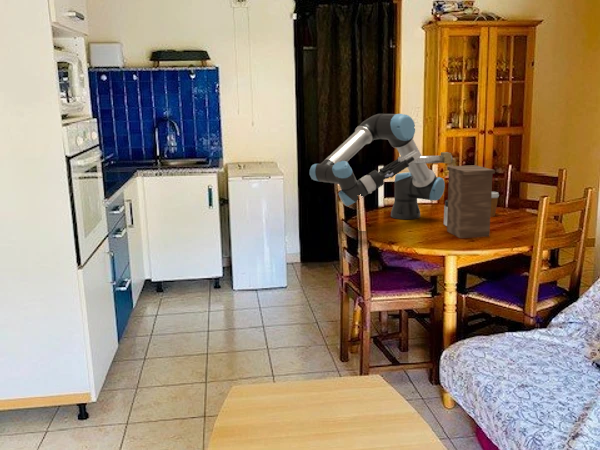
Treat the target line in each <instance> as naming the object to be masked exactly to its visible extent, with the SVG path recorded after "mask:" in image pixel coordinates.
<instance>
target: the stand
mask: <svg viewBox="0 0 600 450" xmlns="http://www.w3.org/2000/svg"><path fill="white" fill-rule="evenodd" d="M446 170H447V171H448V189H447V194H448V195H447V200H448V215H447V226H446V231H447V232H448V233H449V234H450V235H453V236H455V237H457V238H458V239H468V238H469V239H470V238H483V237H490V232H491V231H490V230H491V217H490V215H491V195H492V190H493V176H494V175H493V174H496V170H495V169H492V168H487V167H485V166H479V165H477V164H474V165H472V164H471V165H456V166H452V165H451V166H447V167H446Z"/></svg>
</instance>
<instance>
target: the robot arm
mask: <svg viewBox="0 0 600 450" xmlns="http://www.w3.org/2000/svg"><path fill="white" fill-rule="evenodd" d="M415 126H416V125H415V121H414V119H413V118H412V117H411V116H410V115H408V114H404V113H377V114H374V115H372V116H370V117H368V118H367V119H365V120H364V121H362V122H361V123H360V124H359V125H357V127H356V128H355V129H354V132H353V133H352V134H351V135H349V137H348V138H347V139H346V140H344V141H343V143H341V144H340V145H339V146H338V147H337V148H336V149H335V150H334V151H333V152H332V153H331V154H330V155H328V156H327V157H326V158H325V159H324V160H323V161H322V162H320V163H314V164H312V165H311V166H310V169H309V176H310V178H311V180H313V181H316V182H323V183H330V184H338V185H339V187H340V190H339V191H338V196H339V199H340V200H341V202H342V203H343V204H344V205H345V207H349V206H351V205H353V204H354V203H357V202H358V201H359V200H358V196H357V195H360V194H361V196H363V197H362V198H364V197H366V196H368V195H369V194H372V193H373V192H374V191H376V189H379V188H380V187H382V186H384V185H385V180H386V179H389V178H390V179H391V178H394V183H393V184H394V203H393V205H392V208H391V210H390V217H391V218H393V219H398V220H415V219H419V218H420V217H421V211H420V207H419V203H418V200H420V199H421V200H425V201H434V202H435V201H439V200H440V199H441V198H442V197H443V194H444V192H445V187H446V186H445V185H446V184H445V179H444V178H443V177H440V176H437V175H436V173H435V172H434V171H433V170H432V169H429V167H428V165H427V163H418V164H410V163H412V162H413V161H415V160H417V159H418V158H420V157H421V156H423V155H422V153H421V152H420V149H419V148H418V146H417V144H416V142H415V141H414V136H415V133H416V128H415ZM374 140H375V141H376V140H388V142H389V144H390V146H391V147H393V148H394V149H396V150H397V152H398V154H399V156H400V157H403V156H409V157H407V158H406V159H405V160H404V161H402V162H400V163H398V158H397V159H395V160H393V161H392V162H390V163H389V164H387V165H385V166H383V167H381V168H380V169H379V168H378V169H379V170H376V169H374V170H372V171H371V172H369V173H368V174H366V175H363V176H362V177H361V178H359V179H358V180H357V178H356V176H355V174H354V171H353V169H352V167H351V166H350V164H349V161H350V159H352V158H353V157H354V156H356V154H357V153H358V152H359V151H360V150H362V149H363V148H364V146H366V145H369V144H371V143H372V142H374ZM405 169H408V171H407V172H402V171H404V170H405ZM357 200H358V201H357Z"/></svg>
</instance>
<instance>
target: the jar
mask: <svg viewBox="0 0 600 450" xmlns="http://www.w3.org/2000/svg"><path fill="white" fill-rule="evenodd" d="M443 208H444V209H443V225H444V226H446V227H447V215H448V199H446V200H445V201H444V206H443Z"/></svg>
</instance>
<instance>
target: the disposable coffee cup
mask: <svg viewBox="0 0 600 450" xmlns="http://www.w3.org/2000/svg"><path fill="white" fill-rule="evenodd" d="M499 196H500V194H499V192H497V191H492V195H491V215H490V218H492V217H495V215H496V212H497V205H498V200H499Z"/></svg>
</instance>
